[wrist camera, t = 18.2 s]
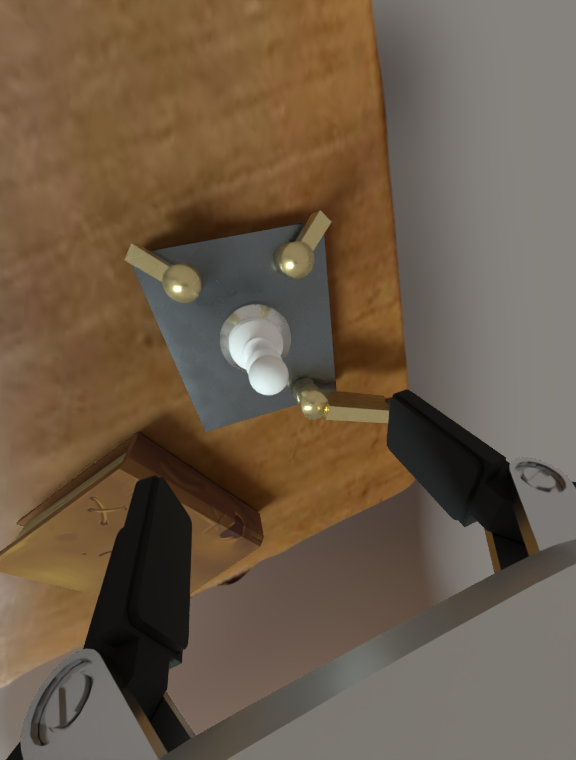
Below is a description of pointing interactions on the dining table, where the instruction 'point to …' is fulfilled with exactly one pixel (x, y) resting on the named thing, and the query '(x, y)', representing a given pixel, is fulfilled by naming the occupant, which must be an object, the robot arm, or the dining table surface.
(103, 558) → the diary
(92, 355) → the dining table surface
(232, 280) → the levelling plate
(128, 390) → the dining table surface
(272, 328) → the chess pawn
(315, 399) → the brass lever
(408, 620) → the robot arm
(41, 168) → the dining table surface
